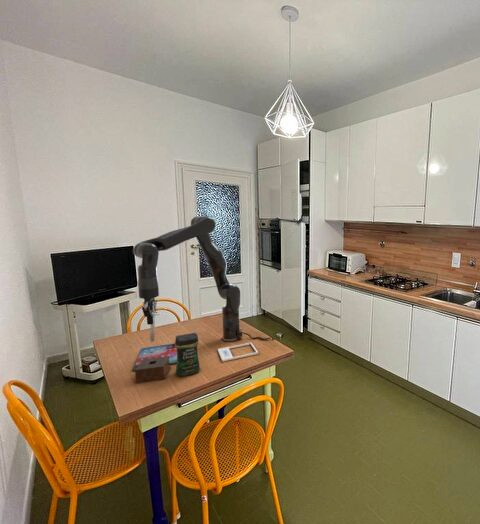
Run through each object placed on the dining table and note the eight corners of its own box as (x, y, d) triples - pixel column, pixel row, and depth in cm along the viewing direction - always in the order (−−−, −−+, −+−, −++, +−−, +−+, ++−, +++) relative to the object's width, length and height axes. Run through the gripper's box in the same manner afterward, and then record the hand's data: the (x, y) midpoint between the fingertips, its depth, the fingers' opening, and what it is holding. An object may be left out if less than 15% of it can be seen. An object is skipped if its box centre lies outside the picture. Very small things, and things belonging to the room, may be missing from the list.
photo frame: (217, 348, 159) (251, 342, 169) (217, 350, 160) (251, 344, 169) (222, 359, 147) (258, 352, 157) (222, 361, 147) (258, 354, 157)
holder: (169, 367, 141) (168, 355, 140) (164, 378, 131) (163, 366, 130) (143, 370, 137) (142, 358, 136) (135, 382, 127) (134, 369, 126)
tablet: (133, 371, 136) (132, 369, 136) (141, 349, 158) (141, 348, 158) (180, 362, 145) (180, 361, 145) (182, 343, 167) (182, 342, 167)
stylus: (154, 341, 137) (155, 312, 135) (153, 342, 136) (154, 313, 134) (150, 341, 136) (151, 312, 135) (149, 342, 135) (150, 313, 133)
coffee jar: (177, 379, 131) (175, 339, 128) (175, 371, 137) (173, 333, 135) (201, 372, 137) (199, 335, 134) (198, 365, 143) (196, 329, 141)
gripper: (153, 289, 127) (156, 327, 130) (162, 283, 140) (164, 318, 142) (133, 290, 125) (136, 329, 127) (143, 283, 137) (146, 319, 140)
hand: (151, 323), depth 135 cm, fingers closed on stylus, 1 cm apart
